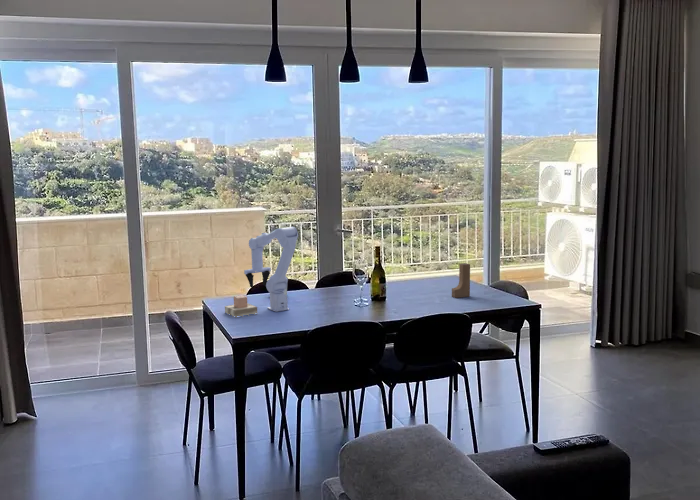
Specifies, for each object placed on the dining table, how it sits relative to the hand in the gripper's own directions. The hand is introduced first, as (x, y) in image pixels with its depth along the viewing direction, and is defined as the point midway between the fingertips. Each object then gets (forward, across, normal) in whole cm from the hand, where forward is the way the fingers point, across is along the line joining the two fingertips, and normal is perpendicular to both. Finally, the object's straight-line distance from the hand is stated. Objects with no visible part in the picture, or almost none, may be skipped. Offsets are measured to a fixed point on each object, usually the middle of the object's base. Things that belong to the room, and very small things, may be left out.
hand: (258, 286), depth 354 cm
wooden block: (+10, -96, +52) cm, 110 cm away
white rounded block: (+10, -19, -13) cm, 25 cm away
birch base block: (+10, +16, +12) cm, 23 cm away
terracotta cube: (+6, +16, +12) cm, 21 cm away
